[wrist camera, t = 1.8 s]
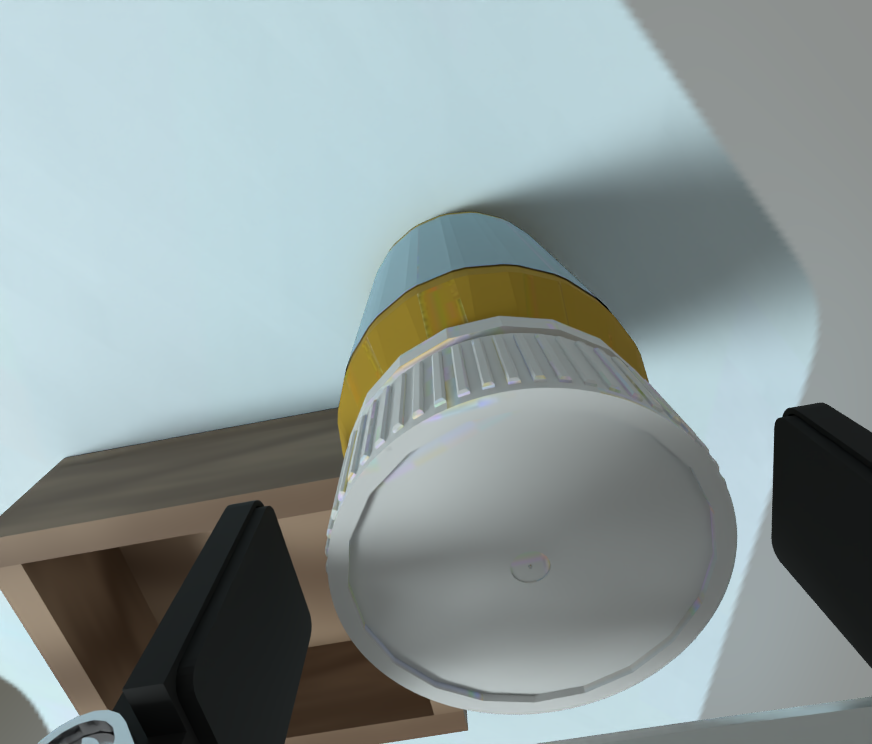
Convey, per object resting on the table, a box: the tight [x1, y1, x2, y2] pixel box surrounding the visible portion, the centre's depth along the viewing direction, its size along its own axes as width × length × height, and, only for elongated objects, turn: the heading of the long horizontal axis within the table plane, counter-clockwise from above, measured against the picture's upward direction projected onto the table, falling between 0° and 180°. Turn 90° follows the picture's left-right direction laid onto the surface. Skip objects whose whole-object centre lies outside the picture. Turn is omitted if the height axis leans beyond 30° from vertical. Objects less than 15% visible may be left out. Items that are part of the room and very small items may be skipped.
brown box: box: [0, 408, 468, 744], centre depth 24 cm, size 13×15×6 cm
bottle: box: [325, 212, 737, 715], centre depth 15 cm, size 7×7×15 cm
